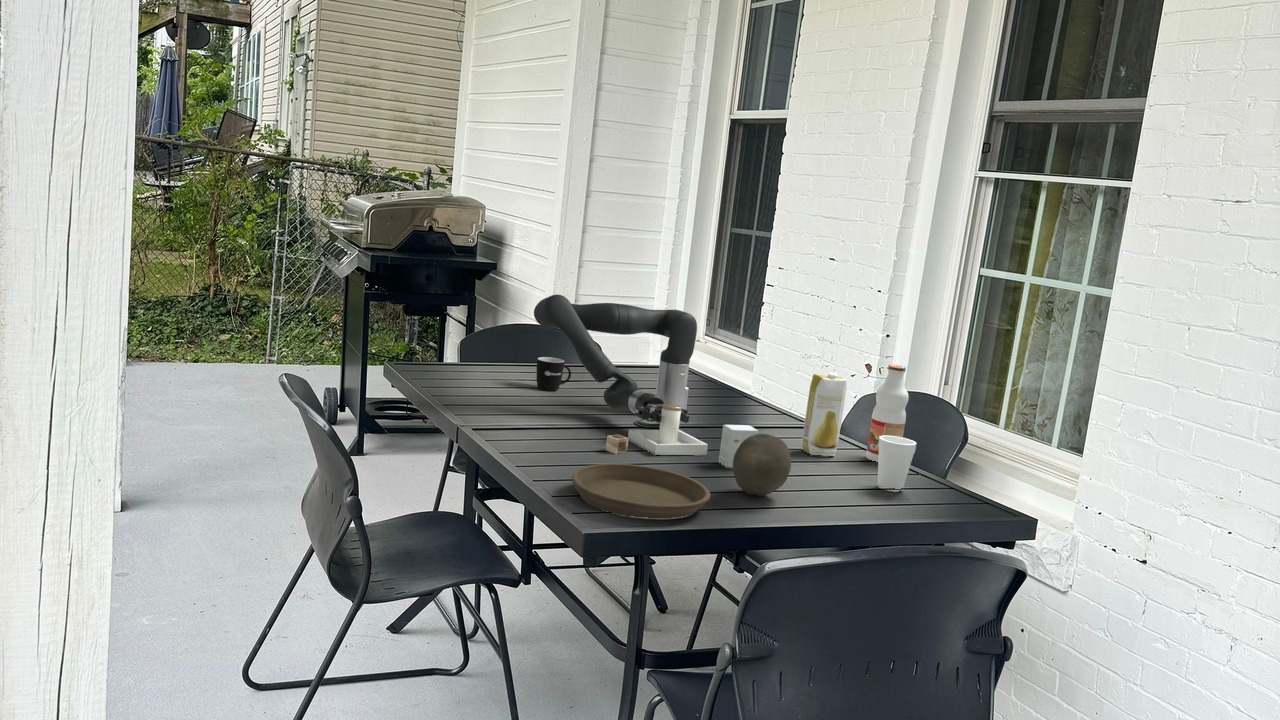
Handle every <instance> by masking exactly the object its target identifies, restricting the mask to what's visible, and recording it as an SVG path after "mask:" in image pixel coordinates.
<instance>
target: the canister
mask: <svg viewBox="0 0 1280 720" xmlns="http://www.w3.org/2000/svg"><path fill="white" fill-rule="evenodd" d="M681 410H682V406H680V405H676V404H669V403H665V404H662V413H661V416H662V417H661V422H660V423H659V429H658V430H659V437H658V444H677V438H678V430H680V429H679V428H680V415H681Z"/></svg>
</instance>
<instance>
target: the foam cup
mask: <svg viewBox="0 0 1280 720" xmlns="http://www.w3.org/2000/svg"><path fill="white" fill-rule="evenodd" d="M878 447H879V458H878V463H877V464H878V465H877V466H878V467H877V485H878V484H879V485H881V486H884V487H888V488H895V489H901V488H903V489H904V487H905V484H906V481H907V477H908V473H909V470H910V467H911V464H912V461H913V457H914V454H915V453H916V449H917V442H916V441H914V440H912V439H909V438H906V437H903V438H902V437H897V436H880V437H879V443H878Z"/></svg>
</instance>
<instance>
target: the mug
mask: <svg viewBox="0 0 1280 720" xmlns="http://www.w3.org/2000/svg"><path fill="white" fill-rule="evenodd" d="M564 368H565V369H567V371H568V376H567V378H566V379H565V380H563V381H562V378H563V373H564ZM571 371H572V370H571V369H570V367H569V366H568V365H566V364H565V360H563V359H561V358H557V357H551V356H550V357H547V356H542V357H538V358H537V359H536V385H537V388H538V390H540V391H543V392H558V390H559V388H560V386H561V385H564V384H566V383H567V382H569V381H570V379H571V377H572V372H571Z"/></svg>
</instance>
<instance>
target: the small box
mask: <svg viewBox="0 0 1280 720" xmlns="http://www.w3.org/2000/svg"><path fill="white" fill-rule="evenodd" d="M759 433H760V432H759V430H758V429H756V428H755V427H753V426H751V425H748V424H747V425H746V424H723V426H722V432H721V439H720V440H721V441H720V449H719V456H718V463H719V464H720V463H721V464H720V465H722V466H723V465H724V466H725V468H726V467H733V459H734V455H735V453H736V451H737V449H738V448H739V446H740V445H741V443H742V442H743V441H744V440H745V439H747V438H748V437H750V436H753V435H756V434H759ZM724 466H723V467H724Z"/></svg>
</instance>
